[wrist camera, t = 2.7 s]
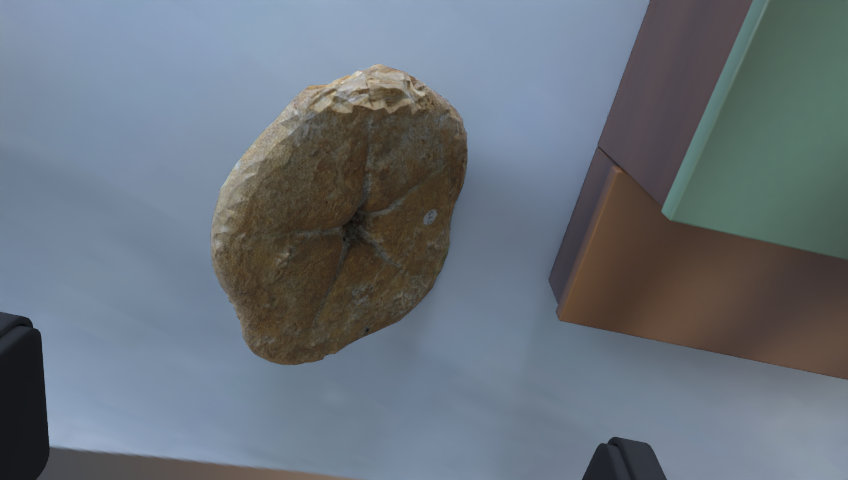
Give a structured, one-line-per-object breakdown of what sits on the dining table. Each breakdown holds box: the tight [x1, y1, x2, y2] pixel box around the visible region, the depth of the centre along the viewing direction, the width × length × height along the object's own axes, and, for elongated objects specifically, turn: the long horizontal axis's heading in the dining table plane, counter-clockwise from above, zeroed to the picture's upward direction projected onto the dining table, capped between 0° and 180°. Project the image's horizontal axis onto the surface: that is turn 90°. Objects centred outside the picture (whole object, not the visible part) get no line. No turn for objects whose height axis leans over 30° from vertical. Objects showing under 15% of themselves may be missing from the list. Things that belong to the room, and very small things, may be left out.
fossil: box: [211, 64, 467, 365], centre depth 18 cm, size 9×4×10 cm
